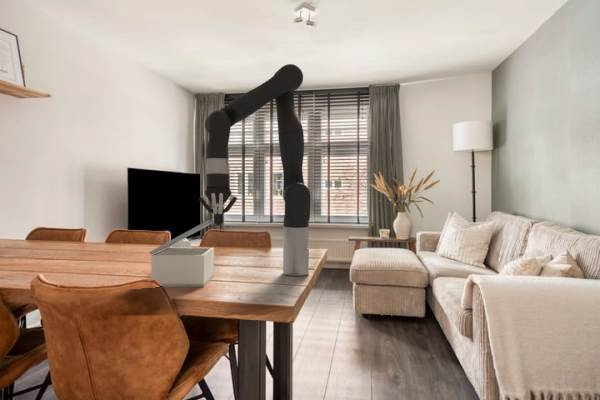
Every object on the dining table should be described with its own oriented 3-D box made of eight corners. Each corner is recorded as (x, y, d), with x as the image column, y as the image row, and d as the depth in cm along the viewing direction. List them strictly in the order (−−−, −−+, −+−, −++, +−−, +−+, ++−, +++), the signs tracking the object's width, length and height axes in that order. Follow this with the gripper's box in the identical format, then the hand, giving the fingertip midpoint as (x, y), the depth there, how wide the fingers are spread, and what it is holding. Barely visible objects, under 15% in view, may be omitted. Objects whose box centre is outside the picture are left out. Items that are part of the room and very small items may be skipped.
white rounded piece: (170, 268, 137) (171, 236, 137) (181, 267, 140) (182, 235, 140) (180, 273, 129) (181, 239, 129) (192, 271, 132) (192, 238, 132)
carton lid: (218, 219, 126) (217, 217, 126) (208, 223, 109) (207, 220, 109) (168, 246, 126) (167, 244, 126) (150, 254, 109) (149, 252, 109)
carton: (214, 275, 126) (214, 247, 126) (203, 287, 110) (204, 255, 110) (168, 275, 125) (168, 247, 125) (151, 287, 109) (151, 255, 109)
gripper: (239, 173, 122) (240, 224, 122) (200, 173, 121) (201, 224, 121) (236, 172, 114) (237, 226, 114) (194, 172, 114) (195, 226, 114)
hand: (218, 225), depth 118 cm, fingers closed
